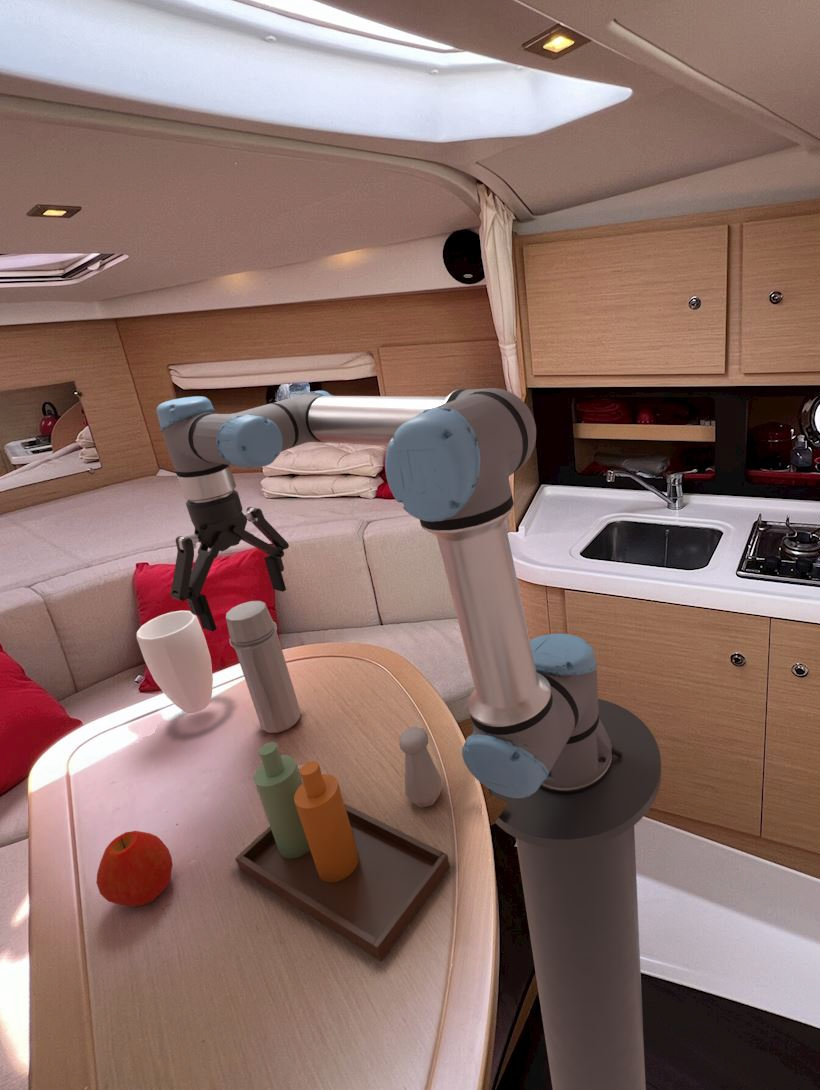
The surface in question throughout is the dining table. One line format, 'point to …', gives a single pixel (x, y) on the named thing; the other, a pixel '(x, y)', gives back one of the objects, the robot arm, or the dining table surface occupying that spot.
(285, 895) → the tray
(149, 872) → the apple
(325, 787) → the amber bottle
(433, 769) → the salt shaker
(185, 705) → the cup
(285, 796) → the sage bottle
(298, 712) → the water bottle
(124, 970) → the dining table surface
